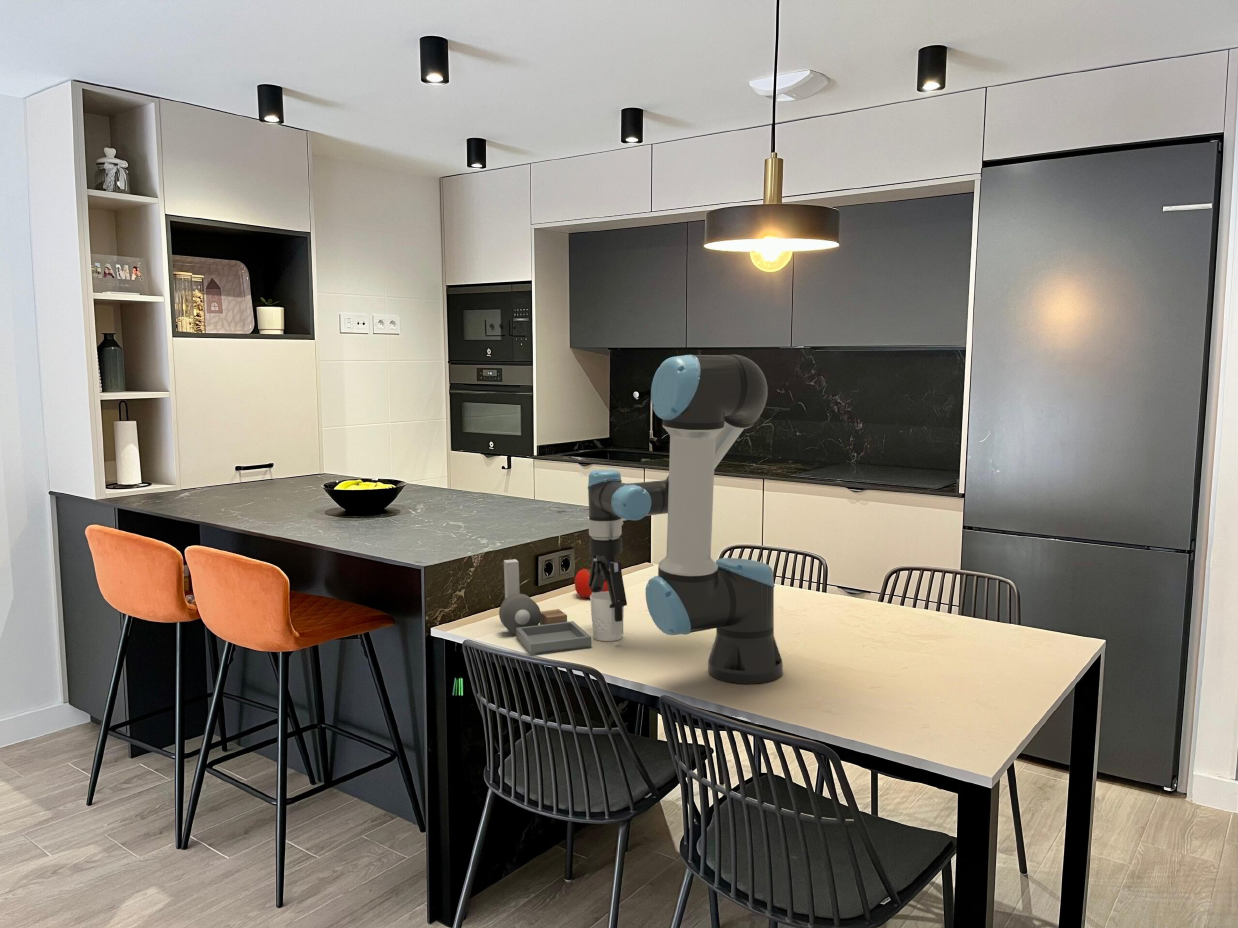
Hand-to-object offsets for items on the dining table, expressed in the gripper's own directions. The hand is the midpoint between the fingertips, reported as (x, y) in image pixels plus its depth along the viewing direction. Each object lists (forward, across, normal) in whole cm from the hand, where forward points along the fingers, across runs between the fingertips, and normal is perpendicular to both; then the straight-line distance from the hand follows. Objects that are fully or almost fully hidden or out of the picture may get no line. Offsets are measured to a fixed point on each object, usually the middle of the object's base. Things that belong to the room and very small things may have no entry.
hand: (607, 626), depth 211 cm
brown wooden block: (+3, +12, +10) cm, 16 cm away
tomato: (+3, +38, -9) cm, 39 cm away
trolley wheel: (+3, +15, +18) cm, 24 cm away
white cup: (+3, 0, 0) cm, 3 cm away
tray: (+3, +1, +13) cm, 13 cm away
